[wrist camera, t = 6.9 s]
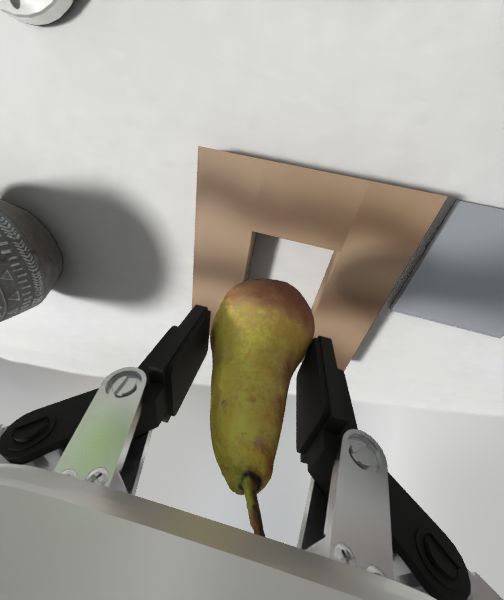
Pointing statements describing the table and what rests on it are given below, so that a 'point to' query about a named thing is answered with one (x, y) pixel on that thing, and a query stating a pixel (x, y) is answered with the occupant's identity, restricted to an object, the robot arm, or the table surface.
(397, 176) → the table surface
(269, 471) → the fruit
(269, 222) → the block with square hole
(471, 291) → the coaster
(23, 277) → the planter
